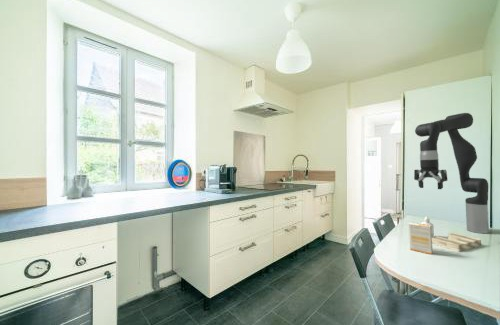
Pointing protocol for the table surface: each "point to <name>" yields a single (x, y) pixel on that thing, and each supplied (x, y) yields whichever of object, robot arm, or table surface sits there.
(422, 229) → the supplement box
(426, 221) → the eye dropper bottle
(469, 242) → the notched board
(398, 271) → the table surface
